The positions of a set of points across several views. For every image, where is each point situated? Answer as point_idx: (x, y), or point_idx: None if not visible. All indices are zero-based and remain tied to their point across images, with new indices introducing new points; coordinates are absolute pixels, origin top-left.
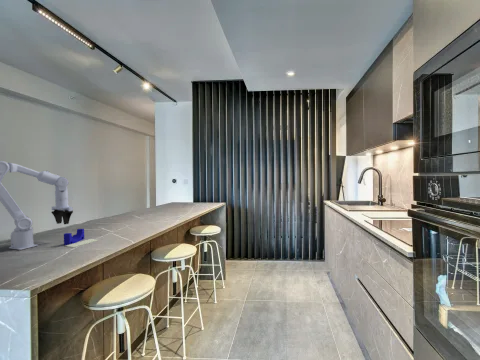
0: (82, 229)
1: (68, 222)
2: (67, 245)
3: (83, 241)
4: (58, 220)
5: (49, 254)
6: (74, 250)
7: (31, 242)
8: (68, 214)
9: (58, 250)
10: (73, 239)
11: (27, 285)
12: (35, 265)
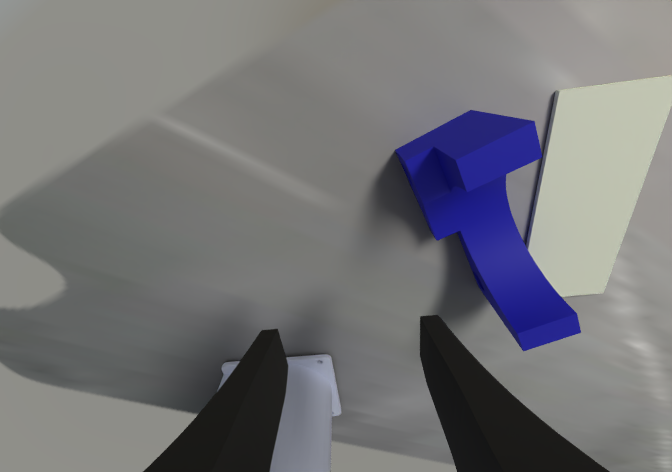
0: (539, 153)
1: (448, 331)
2: None
3: (564, 183)
4: (275, 397)
5: (567, 388)
6: (661, 316)
7: (325, 398)
8: None
9: (552, 347)
10: (529, 255)
11: None
12: (638, 450)
